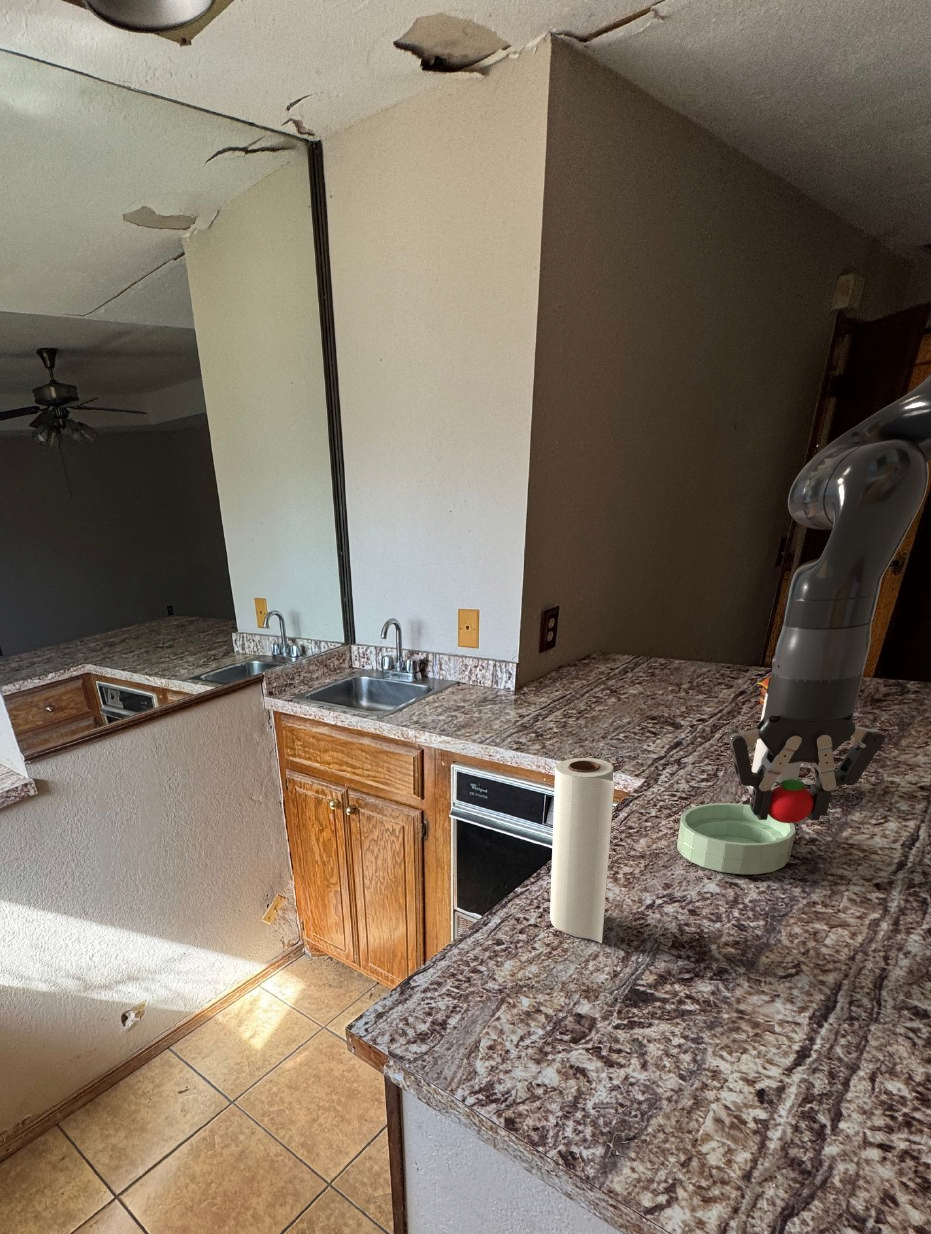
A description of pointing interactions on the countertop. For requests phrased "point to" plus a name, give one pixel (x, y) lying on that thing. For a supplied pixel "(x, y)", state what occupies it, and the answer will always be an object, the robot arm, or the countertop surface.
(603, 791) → the paper towel roll
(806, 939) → the countertop surface
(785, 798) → the red tomato
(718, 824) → the bowl
